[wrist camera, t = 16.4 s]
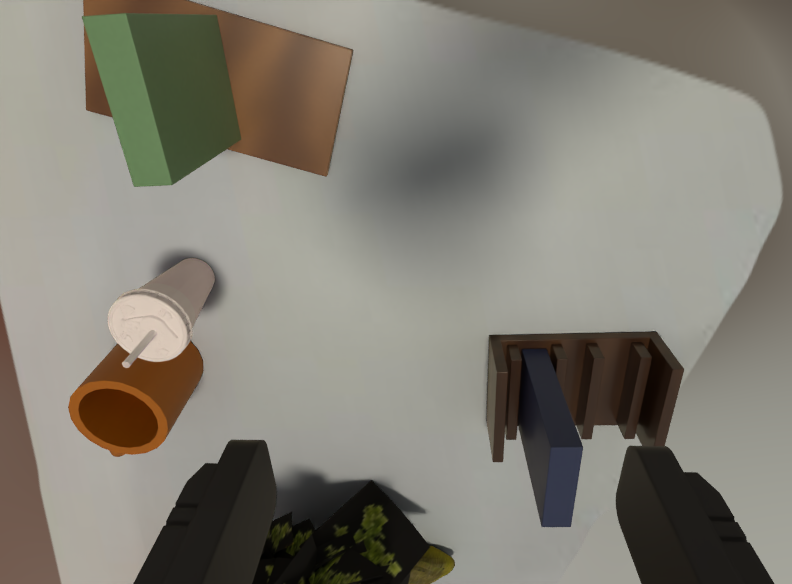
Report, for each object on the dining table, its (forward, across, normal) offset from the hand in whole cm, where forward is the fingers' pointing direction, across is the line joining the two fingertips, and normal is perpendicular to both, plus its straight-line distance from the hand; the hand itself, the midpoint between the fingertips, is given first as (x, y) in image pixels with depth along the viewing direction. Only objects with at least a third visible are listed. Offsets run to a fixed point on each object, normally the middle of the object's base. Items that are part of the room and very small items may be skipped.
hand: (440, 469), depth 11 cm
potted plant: (+34, +11, +48) cm, 60 cm away
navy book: (+33, -10, +24) cm, 42 cm away
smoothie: (+34, +23, +12) cm, 43 cm away
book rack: (+34, -13, +24) cm, 44 cm away
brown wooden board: (+34, +17, -5) cm, 39 cm away
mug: (+34, +30, +23) cm, 51 cm away
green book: (+34, +17, -5) cm, 38 cm away
